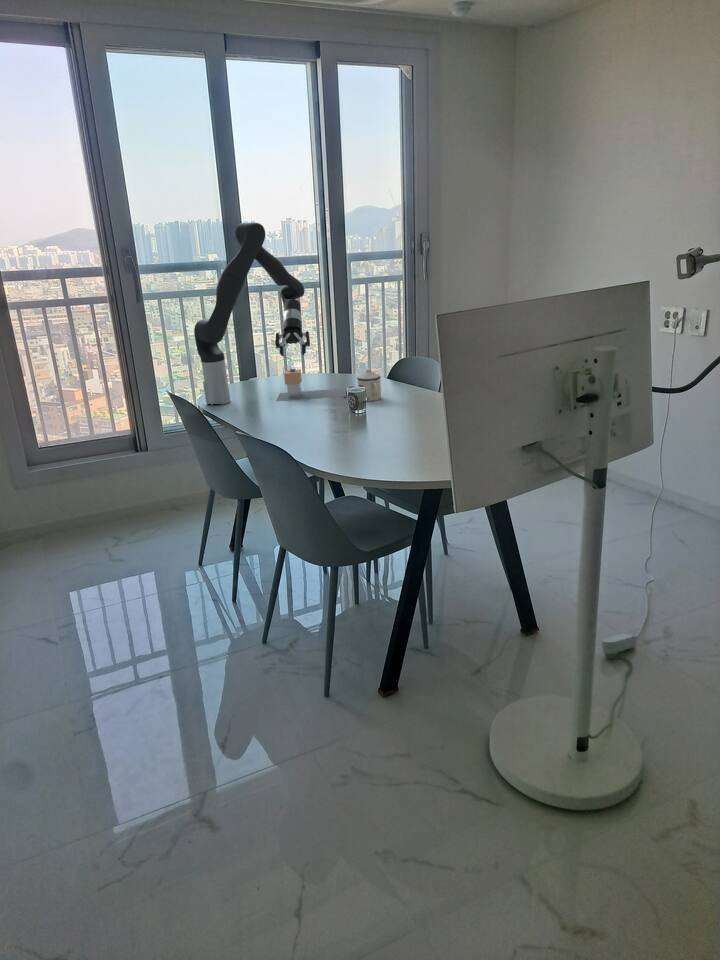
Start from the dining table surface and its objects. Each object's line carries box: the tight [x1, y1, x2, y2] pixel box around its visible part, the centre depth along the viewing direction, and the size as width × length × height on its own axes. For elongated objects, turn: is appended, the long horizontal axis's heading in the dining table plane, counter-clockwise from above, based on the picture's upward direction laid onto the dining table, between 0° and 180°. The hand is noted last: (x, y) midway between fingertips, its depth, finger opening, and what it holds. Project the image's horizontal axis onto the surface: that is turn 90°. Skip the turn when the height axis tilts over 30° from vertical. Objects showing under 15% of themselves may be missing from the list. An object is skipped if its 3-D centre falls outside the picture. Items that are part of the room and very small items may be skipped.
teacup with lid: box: [356, 368, 382, 402], centre depth 253 cm, size 12×9×12 cm
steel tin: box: [286, 383, 302, 398], centre depth 266 cm, size 5×5×9 cm
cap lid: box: [283, 368, 303, 386], centre depth 265 cm, size 6×6×5 cm
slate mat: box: [276, 388, 347, 402], centre depth 268 cm, size 28×14×1 cm, turn 90°
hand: (292, 354), depth 270 cm, fingers open, 8 cm apart
